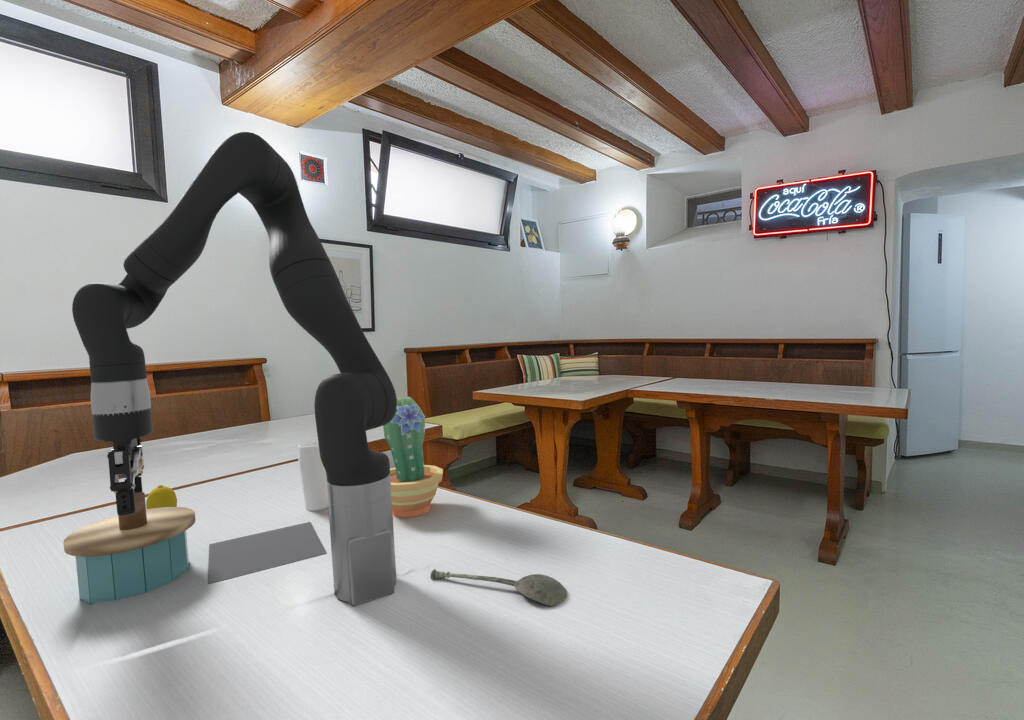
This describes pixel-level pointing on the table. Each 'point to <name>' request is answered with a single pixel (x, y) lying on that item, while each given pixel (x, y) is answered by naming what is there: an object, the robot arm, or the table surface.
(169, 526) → the lid
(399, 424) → the potted cactus
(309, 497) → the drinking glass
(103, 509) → the table surface
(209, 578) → the mat
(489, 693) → the table surface
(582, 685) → the table surface
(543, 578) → the soupspoon
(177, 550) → the bowl
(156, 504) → the lemon
